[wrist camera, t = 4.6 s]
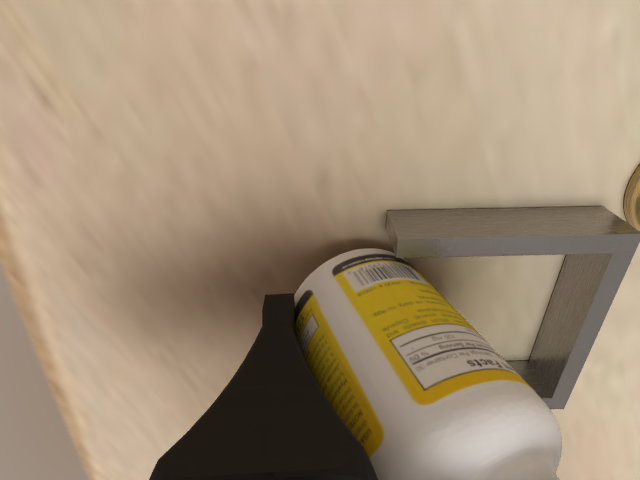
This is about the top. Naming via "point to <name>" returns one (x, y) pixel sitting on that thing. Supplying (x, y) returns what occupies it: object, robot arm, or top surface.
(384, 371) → the supplement bottle
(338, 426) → the robot arm
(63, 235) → the top surface
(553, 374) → the bracket
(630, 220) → the gold disc
